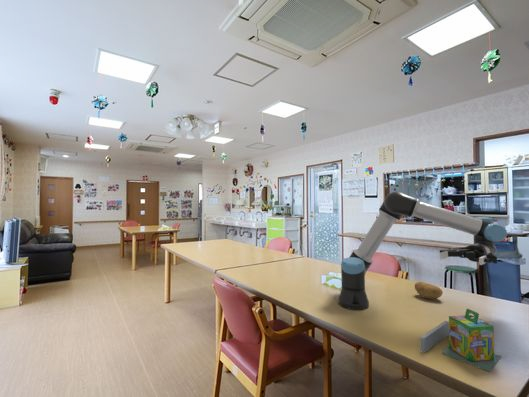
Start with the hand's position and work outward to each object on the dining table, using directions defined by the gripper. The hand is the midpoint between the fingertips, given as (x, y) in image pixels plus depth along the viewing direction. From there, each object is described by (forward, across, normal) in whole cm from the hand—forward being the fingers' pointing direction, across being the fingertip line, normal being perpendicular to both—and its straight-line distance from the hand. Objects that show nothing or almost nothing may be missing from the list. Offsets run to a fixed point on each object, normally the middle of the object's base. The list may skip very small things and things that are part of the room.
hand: (459, 258), depth 109 cm
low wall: (+17, +3, -30) cm, 34 cm away
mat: (+17, -8, -30) cm, 35 cm away
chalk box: (+17, -8, -30) cm, 35 cm away
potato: (-31, +25, -30) cm, 50 cm away
